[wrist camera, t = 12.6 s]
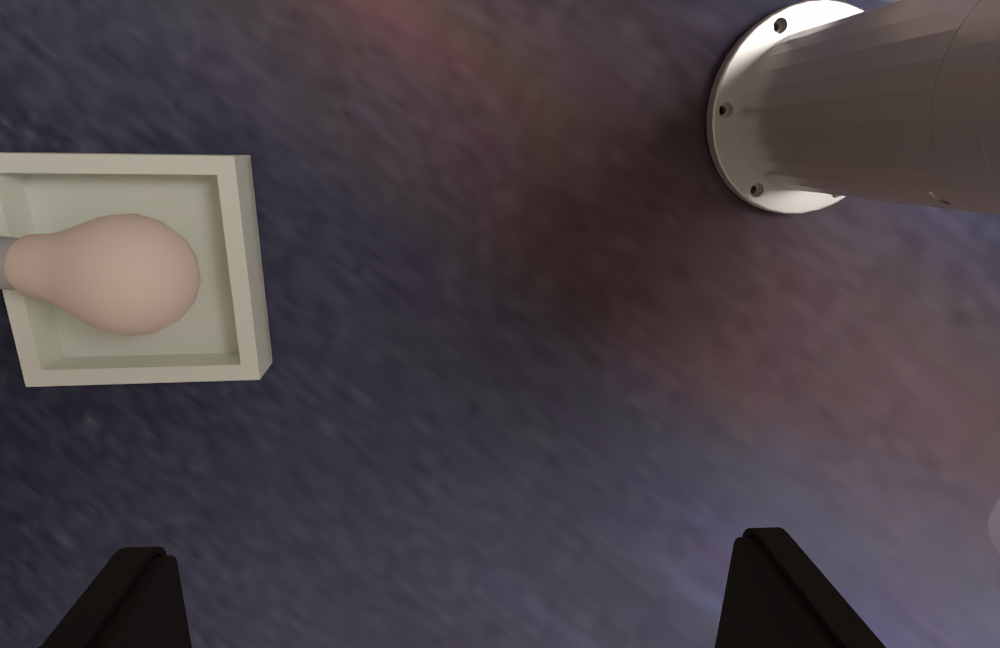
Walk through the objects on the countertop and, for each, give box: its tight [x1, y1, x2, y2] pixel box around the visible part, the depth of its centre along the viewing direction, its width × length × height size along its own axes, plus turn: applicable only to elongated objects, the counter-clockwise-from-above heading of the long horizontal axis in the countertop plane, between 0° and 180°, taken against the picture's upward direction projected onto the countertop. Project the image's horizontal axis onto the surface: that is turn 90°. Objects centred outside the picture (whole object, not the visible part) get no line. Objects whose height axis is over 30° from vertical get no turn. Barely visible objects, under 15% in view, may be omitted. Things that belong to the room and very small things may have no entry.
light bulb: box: [0, 213, 201, 336], centre depth 31 cm, size 7×7×11 cm
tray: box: [0, 152, 273, 387], centre depth 34 cm, size 13×13×3 cm
